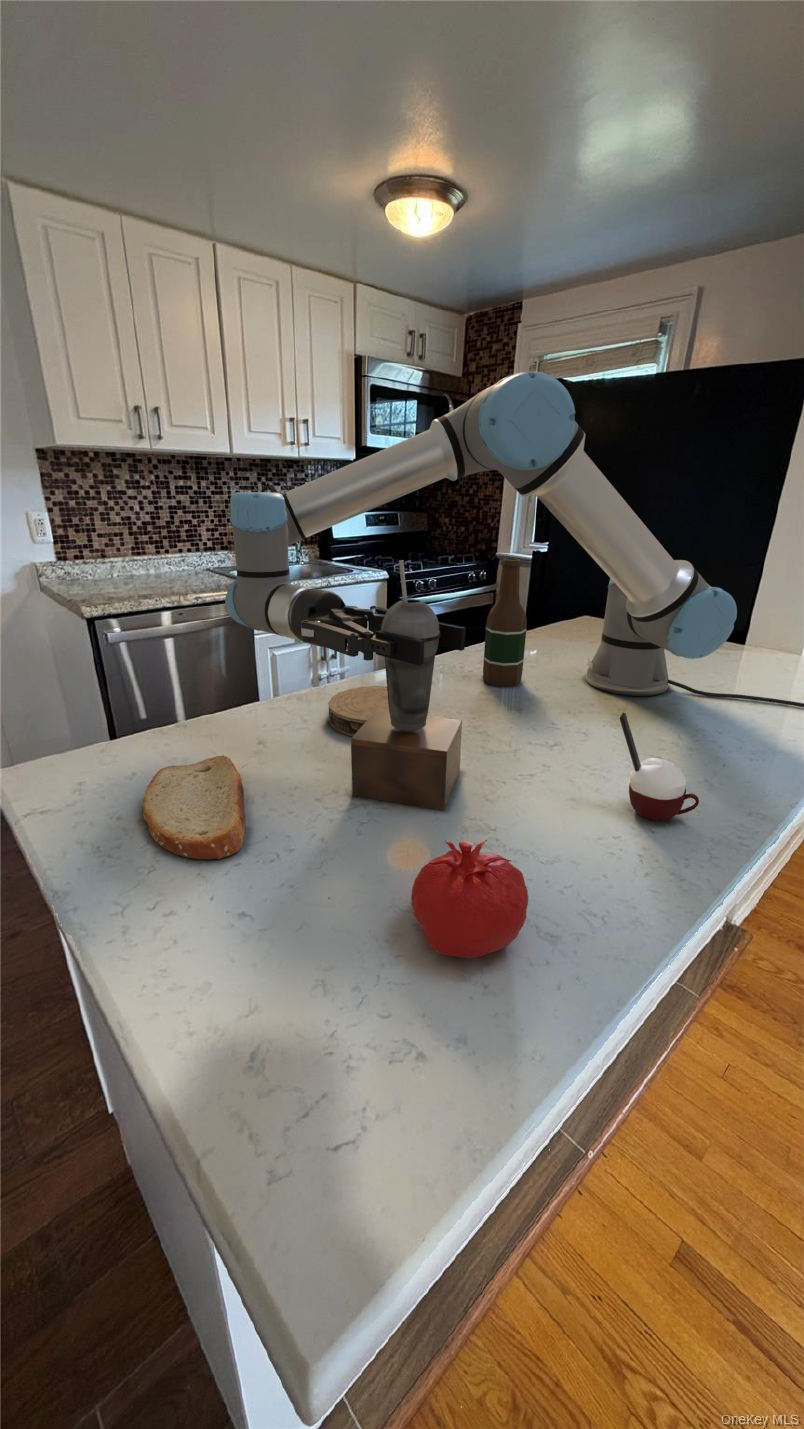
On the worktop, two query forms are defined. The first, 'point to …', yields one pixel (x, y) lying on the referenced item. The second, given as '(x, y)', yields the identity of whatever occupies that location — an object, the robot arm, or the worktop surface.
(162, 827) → the bread slice
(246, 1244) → the worktop surface
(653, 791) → the cocoa
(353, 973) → the worktop surface
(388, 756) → the riser
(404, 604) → the beverage cup
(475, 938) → the pomegranate
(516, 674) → the beer bottle
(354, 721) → the tan flat ringed disc
